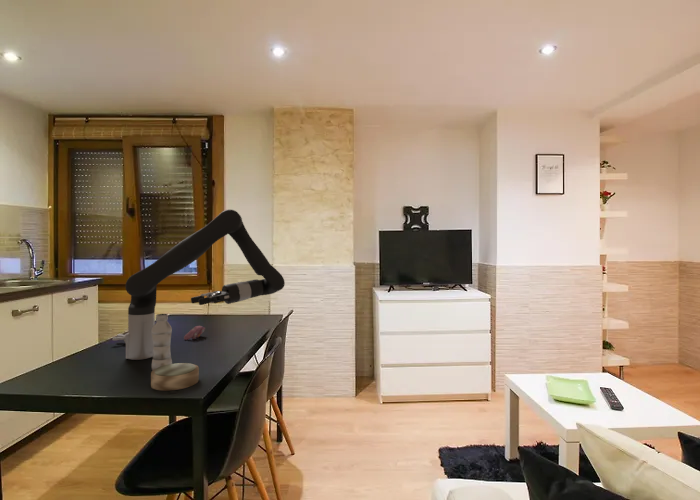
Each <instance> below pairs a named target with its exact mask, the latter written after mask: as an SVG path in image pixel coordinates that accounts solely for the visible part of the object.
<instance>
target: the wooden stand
mask: <svg viewBox="0 0 700 500" xmlns="http://www.w3.org/2000/svg"><path fill="white" fill-rule="evenodd" d="M199 370H200V368H199V366H198V365H197V364H193V363H190V362H189V363H188V362H177V363H176V362H175V363H172V364H169V365H164V366H161V367H159V368H157V369H154V370H152V371H150V388H151V389H153V390H156V391H166V392H167V391H176V390H182V389H186V388H189V387H193V386H194V385H196V384H198V382H199V380H200V373H199V372H200V371H199Z"/></svg>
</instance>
